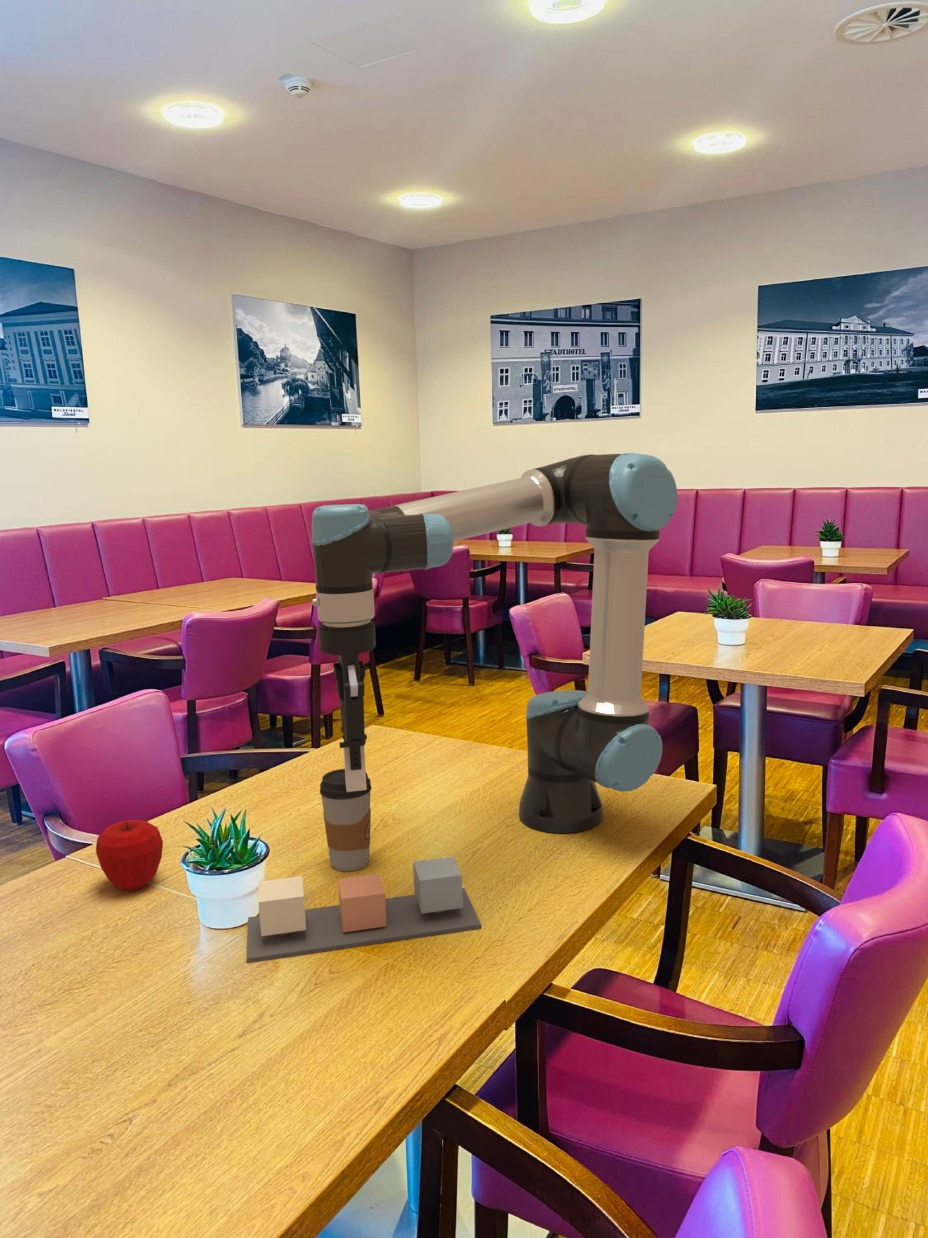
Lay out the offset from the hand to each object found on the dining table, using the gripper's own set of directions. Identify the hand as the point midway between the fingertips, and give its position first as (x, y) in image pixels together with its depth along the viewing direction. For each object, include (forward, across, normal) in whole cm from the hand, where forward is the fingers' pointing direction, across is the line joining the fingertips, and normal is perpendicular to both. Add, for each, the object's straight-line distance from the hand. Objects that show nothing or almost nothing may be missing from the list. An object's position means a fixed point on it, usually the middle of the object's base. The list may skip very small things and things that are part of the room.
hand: (356, 788), depth 122 cm
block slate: (+18, 0, +11) cm, 21 cm away
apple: (+21, -22, -34) cm, 45 cm away
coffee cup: (+21, -20, 0) cm, 29 cm away
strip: (+20, 0, 0) cm, 20 cm away
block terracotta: (+19, 0, 0) cm, 19 cm away
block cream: (+18, 0, -11) cm, 21 cm away
